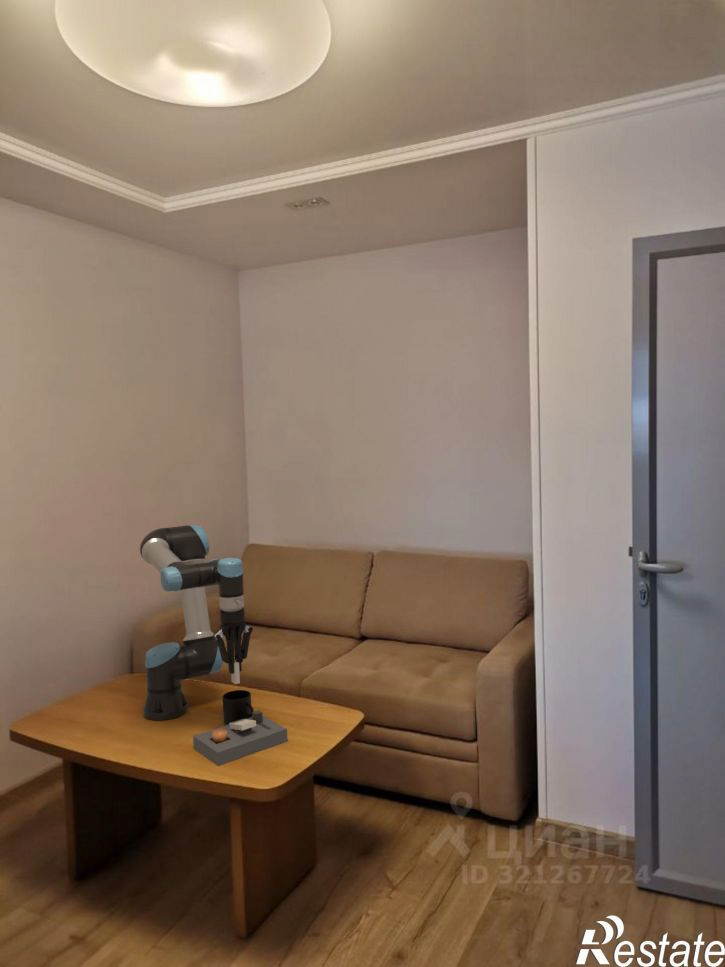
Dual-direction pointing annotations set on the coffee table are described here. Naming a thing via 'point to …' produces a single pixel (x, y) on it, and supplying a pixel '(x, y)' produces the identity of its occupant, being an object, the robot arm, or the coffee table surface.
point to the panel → (240, 741)
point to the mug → (236, 706)
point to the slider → (257, 716)
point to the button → (219, 735)
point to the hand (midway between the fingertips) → (235, 682)
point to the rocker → (242, 724)
